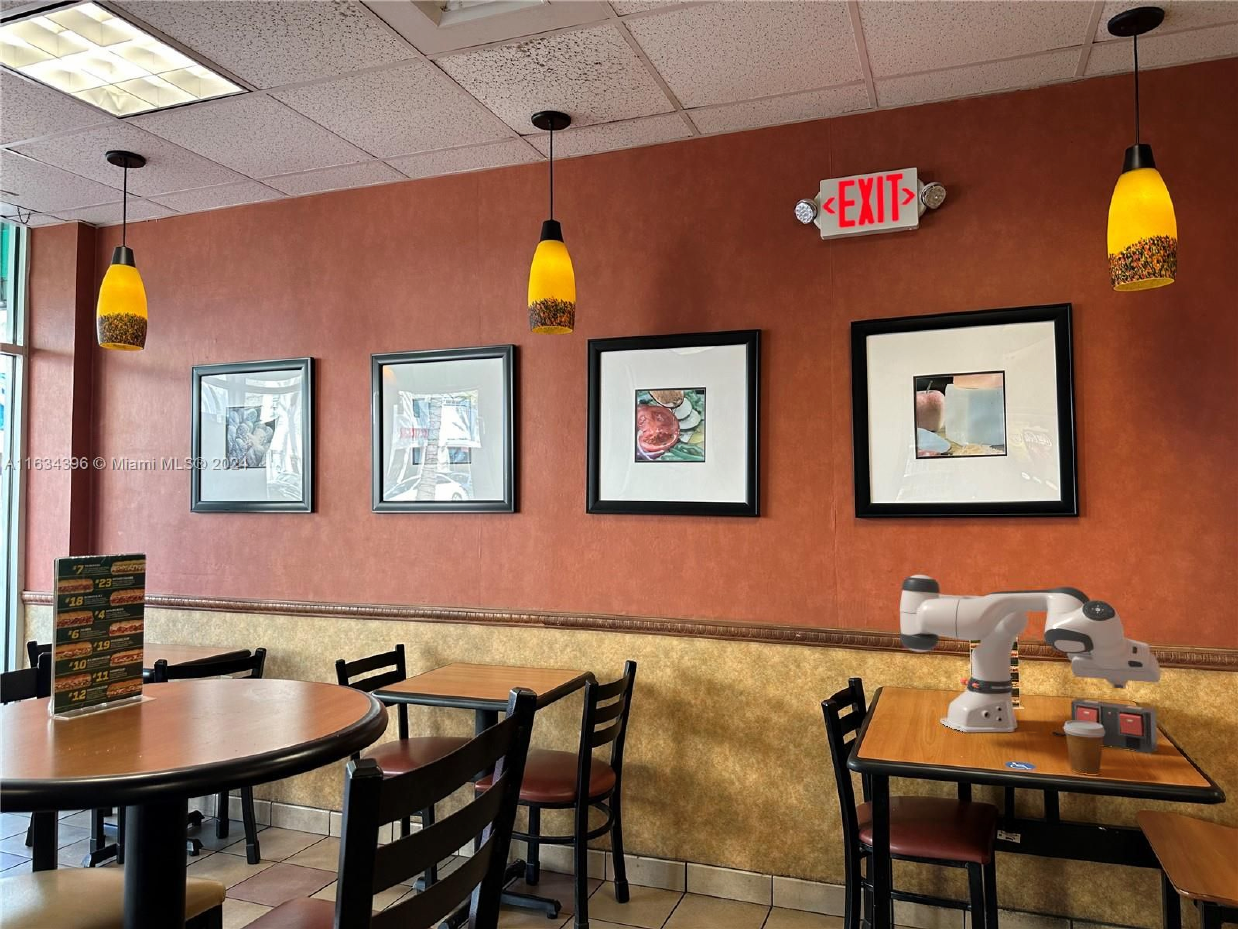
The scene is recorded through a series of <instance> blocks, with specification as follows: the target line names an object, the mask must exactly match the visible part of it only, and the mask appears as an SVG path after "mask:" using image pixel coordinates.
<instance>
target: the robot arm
mask: <svg viewBox="0 0 1238 929" xmlns="http://www.w3.org/2000/svg"><path fill="white" fill-rule="evenodd" d="M901 590H902V591H901V597H900V604H899V605H900V606H899V614H900V615H899V618H900V619H899V624H900V633H899V638H900V642H901V643H900V644H902V645H903V647H904V648H906V649H907V648H908V649H909V650H911V651H913V652H917V653H924V652H928V651H933V650H934V649H935V648H936V647H937V645H938V643H939V641H940V640H941V638H940V637H943V638H944V637H945V638H949V639H955V640H957V639H958V640H963V641H979V640H980V642H979V644H978V646H976V647H975V648H973V650H972V652H971V656H970V658H971V676H970V678H969V680H968V679H966V678H965V677H962V678H960V679H959V683H960V684H961V685H963V686H966V690H965V691H963V692H962V693H961V694H960V695H958V696H957V697H956V698H954V700H952V701H951V702H950V703H949V706H948V710H947V717H943V718H940V719H939V721H940V722H941V723H942V724H944V725H945V726H944V725H943V726H944V727H946V726H948V727H947V728H949V727H950V728H949V729H951V728H952V729H951V730H954V729H957V730H960V731H959V732H962V731H963V733H1014V732H1015V729H1017V728H1018V723H1017V720H1016V717H1015V715H1016V714H1015V712H1014V705H1013V698H1012V695H1013V680H1012V679H1011V658H1012V657H1011V656H1012V655H1011V654H1012V650H1013V647H1014V643H1015V641H1016V639H1017V638H1018V637H1019V636H1020V635H1021V634H1023V632H1024V631H1025V630H1026V628H1027V626H1028V614H1027V612H1029V613H1030V612H1046V621H1045V624H1044V634H1043V635H1044V636H1043V637H1044V640H1045V642H1046V643H1047V645H1049V646H1050V647H1051V648H1052V649H1054V650H1055V651H1057V652H1060V653H1063V654H1066V655H1067V658H1068V660H1069V661H1070V662H1071V672H1072V674H1073V675H1074V677H1077V678H1086V679H1101V680H1102V679H1104V680H1106V681H1107V682H1108V683H1109V684H1111V686H1112V688H1113V689H1122V690H1123V689H1124V690H1125V689H1127V688H1126V686H1127V683H1128V682H1129V681H1130V682H1131V681H1133V682H1146V683H1158V682H1159V681H1160V679H1161V667H1160V665H1159V662H1158V660H1157V658H1156V656H1155V655H1154V654H1153V653H1152V652H1150V651H1151V649H1150V645H1149V644H1148V643H1146V642H1141V641H1138V640H1134V639H1130V638H1129V637H1128V638H1127V637H1125V630H1124V626H1123V623H1122V620H1121V617H1120V616H1119V614H1118V612H1117V611H1116V609H1115V608H1114V607H1113V606H1112V605H1111V604H1109V603H1108V602H1107V601H1103V600H1100V599H1099V600H1098V599H1097V600H1095V599H1094V600H1091V599H1090V598H1089V596H1087V594H1085V593H1084V592H1083V591H1082V590H1081V589H1078V588H1076V587H1072V586H1061V587H1055V588H1049V589H1048V588H1047V589H1033V590H1032V589H1030V590H1002V591H993V592H989V593H988V594H985V595H983V596H982V595H966V594H965V595H963V594H962V595H956V594H954V595H953V594H942V593H941V589H940V584H939V582H938V581H937V580H936V579H935V578H933V577H931V576H929V575H926V574H925V575H924V574H914V575H911V576H907V577H906V578H905V579H904V580H903V582H902V585H901ZM939 636H940V637H939ZM940 722H939V723H940ZM941 723H940V724H941ZM942 724H941V725H942ZM957 730H956V731H957Z"/></svg>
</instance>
